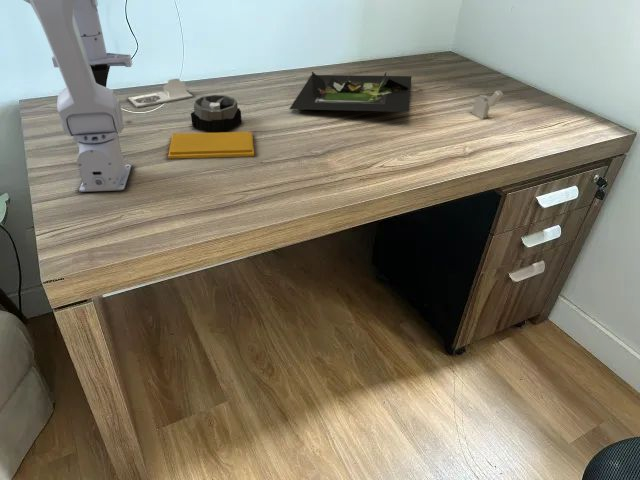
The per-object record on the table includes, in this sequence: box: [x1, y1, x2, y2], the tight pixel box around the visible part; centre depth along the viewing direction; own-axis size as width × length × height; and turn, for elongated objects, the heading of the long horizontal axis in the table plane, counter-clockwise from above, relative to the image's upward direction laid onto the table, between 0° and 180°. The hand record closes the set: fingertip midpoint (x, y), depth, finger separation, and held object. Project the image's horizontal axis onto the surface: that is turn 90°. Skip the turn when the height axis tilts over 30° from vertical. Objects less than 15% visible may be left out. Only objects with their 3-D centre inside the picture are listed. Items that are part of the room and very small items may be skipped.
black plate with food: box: [289, 71, 413, 113], centre depth 134 cm, size 30×8×30 cm
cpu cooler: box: [190, 94, 242, 133], centre depth 116 cm, size 10×6×10 cm
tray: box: [167, 131, 255, 160], centre depth 108 cm, size 10×18×1 cm, turn 99°
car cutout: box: [127, 78, 194, 108], centre depth 129 cm, size 15×7×4 cm, turn 126°
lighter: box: [471, 89, 504, 120], centre depth 127 cm, size 7×2×8 cm, turn 31°
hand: (102, 100), depth 103 cm, fingers closed
